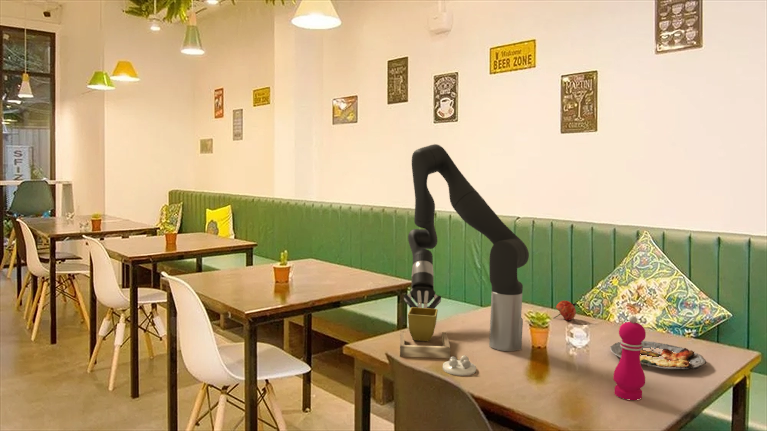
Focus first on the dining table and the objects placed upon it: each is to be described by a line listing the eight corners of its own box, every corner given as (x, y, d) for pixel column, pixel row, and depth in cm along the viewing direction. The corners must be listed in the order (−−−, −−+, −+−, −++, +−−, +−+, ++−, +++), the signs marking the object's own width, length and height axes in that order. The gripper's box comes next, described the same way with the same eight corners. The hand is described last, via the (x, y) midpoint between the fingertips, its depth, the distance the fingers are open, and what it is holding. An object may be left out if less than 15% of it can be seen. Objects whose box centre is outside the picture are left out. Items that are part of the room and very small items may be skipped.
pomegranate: (557, 327, 206) (581, 313, 203) (546, 310, 208) (569, 296, 205) (560, 324, 213) (583, 311, 210) (549, 307, 215) (572, 294, 212)
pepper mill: (606, 390, 144) (611, 312, 142) (634, 389, 145) (639, 312, 143) (621, 402, 137) (626, 320, 135) (650, 401, 138) (655, 320, 136)
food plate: (714, 360, 168) (715, 348, 168) (691, 382, 151) (692, 369, 151) (627, 343, 185) (628, 332, 185) (598, 361, 168) (598, 349, 168)
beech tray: (445, 341, 180) (446, 332, 180) (449, 358, 165) (450, 347, 165) (400, 340, 180) (400, 330, 180) (399, 356, 165) (400, 346, 165)
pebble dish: (473, 364, 160) (474, 352, 160) (478, 376, 151) (478, 363, 151) (441, 363, 161) (442, 351, 160) (443, 374, 152) (444, 362, 151)
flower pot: (434, 344, 177) (435, 315, 176) (406, 342, 178) (407, 313, 178) (437, 335, 186) (437, 308, 185) (410, 333, 187) (411, 306, 186)
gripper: (403, 270, 195) (402, 315, 184) (442, 271, 194) (443, 316, 183) (403, 282, 200) (401, 326, 190) (441, 283, 200) (442, 328, 189)
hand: (422, 321), depth 186 cm, fingers closed
